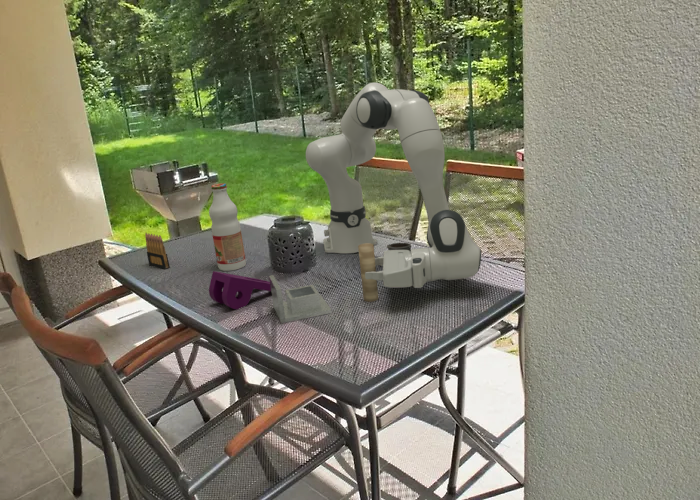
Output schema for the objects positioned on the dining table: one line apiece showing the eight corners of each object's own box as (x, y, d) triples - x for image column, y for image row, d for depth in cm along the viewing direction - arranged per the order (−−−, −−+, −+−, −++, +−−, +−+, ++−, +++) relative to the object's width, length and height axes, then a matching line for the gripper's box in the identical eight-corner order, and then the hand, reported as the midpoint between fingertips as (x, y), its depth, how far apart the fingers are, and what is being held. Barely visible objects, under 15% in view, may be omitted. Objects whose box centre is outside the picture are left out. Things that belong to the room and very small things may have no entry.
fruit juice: (240, 271, 195) (226, 186, 187) (213, 271, 198) (198, 188, 190) (250, 261, 204) (237, 180, 196) (225, 262, 206) (211, 182, 198)
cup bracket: (273, 307, 162) (268, 275, 159) (320, 297, 165) (317, 266, 162) (281, 323, 151) (276, 290, 148) (331, 312, 154) (327, 280, 151)
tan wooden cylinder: (361, 297, 162) (356, 244, 158) (375, 295, 163) (370, 242, 158) (366, 302, 158) (360, 248, 154) (380, 299, 159) (375, 246, 155)
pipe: (430, 272, 176) (428, 246, 174) (387, 273, 179) (385, 248, 176) (431, 265, 182) (430, 240, 179) (390, 267, 184) (388, 242, 182)
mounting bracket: (258, 307, 179) (205, 300, 167) (264, 280, 179) (212, 271, 167) (276, 314, 172) (223, 307, 160) (283, 286, 173) (230, 277, 160)
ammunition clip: (149, 265, 213) (142, 232, 209) (153, 263, 214) (147, 231, 211) (165, 269, 206) (158, 236, 202) (170, 267, 207) (163, 234, 204)
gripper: (416, 242, 166) (366, 246, 167) (419, 266, 146) (363, 270, 148) (417, 264, 168) (368, 267, 169) (421, 290, 148) (365, 294, 149)
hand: (365, 269), depth 158 cm, fingers open, 8 cm apart
